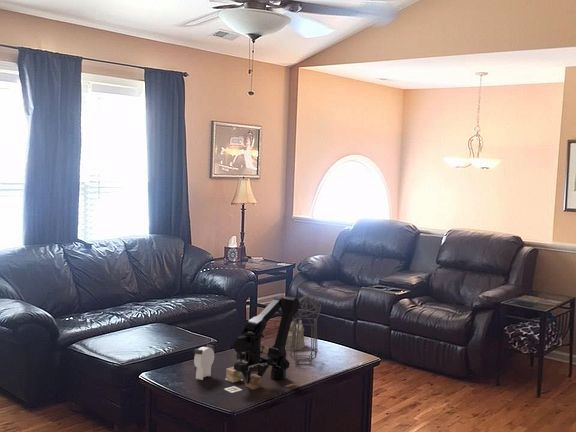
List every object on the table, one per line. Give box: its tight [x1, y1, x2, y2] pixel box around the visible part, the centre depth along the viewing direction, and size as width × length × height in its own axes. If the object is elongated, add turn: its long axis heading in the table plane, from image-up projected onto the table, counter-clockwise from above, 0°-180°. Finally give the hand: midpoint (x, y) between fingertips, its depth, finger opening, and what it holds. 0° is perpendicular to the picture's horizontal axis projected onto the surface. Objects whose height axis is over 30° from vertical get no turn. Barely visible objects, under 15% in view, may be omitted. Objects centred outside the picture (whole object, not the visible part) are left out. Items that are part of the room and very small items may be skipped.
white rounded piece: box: [193, 344, 216, 381], centre depth 286 cm, size 12×11×15 cm
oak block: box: [225, 366, 242, 383], centre depth 284 cm, size 5×5×5 cm
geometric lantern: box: [289, 295, 322, 366], centre depth 314 cm, size 16×16×35 cm
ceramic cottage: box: [285, 319, 306, 351], centre depth 345 cm, size 16×16×15 cm
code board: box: [224, 378, 243, 394], centre depth 277 cm, size 18×20×1 cm
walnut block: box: [244, 373, 262, 390], centre depth 275 cm, size 5×5×5 cm
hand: (253, 382), depth 275 cm, fingers open, 6 cm apart
